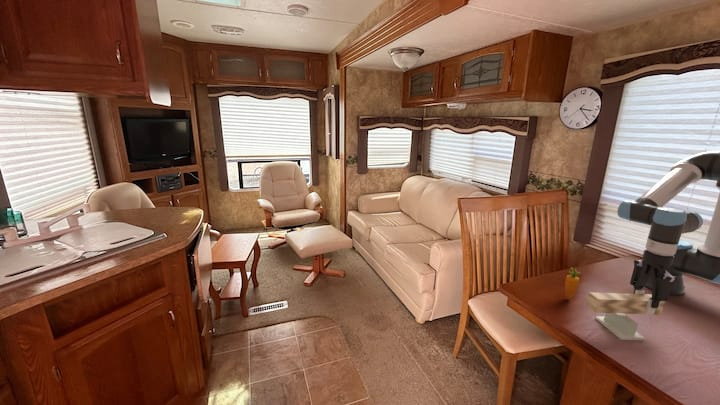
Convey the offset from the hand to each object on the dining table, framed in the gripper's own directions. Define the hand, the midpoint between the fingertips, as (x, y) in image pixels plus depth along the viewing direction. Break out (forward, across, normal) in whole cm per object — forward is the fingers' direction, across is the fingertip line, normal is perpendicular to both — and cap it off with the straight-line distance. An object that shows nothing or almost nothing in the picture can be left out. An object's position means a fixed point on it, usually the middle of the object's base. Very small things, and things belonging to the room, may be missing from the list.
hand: (642, 309), depth 108 cm
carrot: (+9, -19, -13) cm, 25 cm away
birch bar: (0, 0, -7) cm, 7 cm away
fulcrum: (+8, 0, -7) cm, 11 cm away
